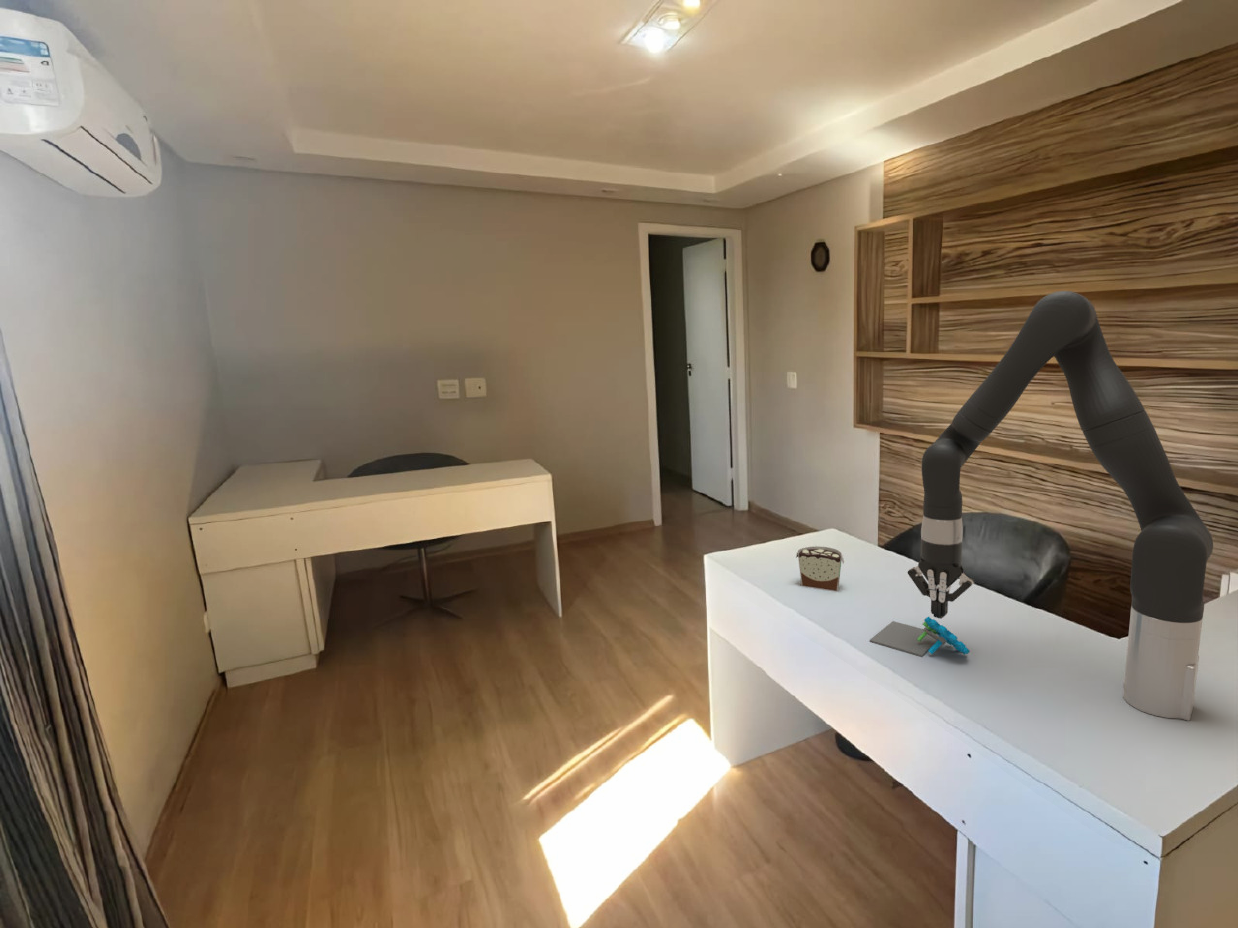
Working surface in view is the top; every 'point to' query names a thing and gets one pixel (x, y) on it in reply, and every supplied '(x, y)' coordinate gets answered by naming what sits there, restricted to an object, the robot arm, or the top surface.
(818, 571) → the food container
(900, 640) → the mat
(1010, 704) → the top surface
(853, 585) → the top surface
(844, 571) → the top surface
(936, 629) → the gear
